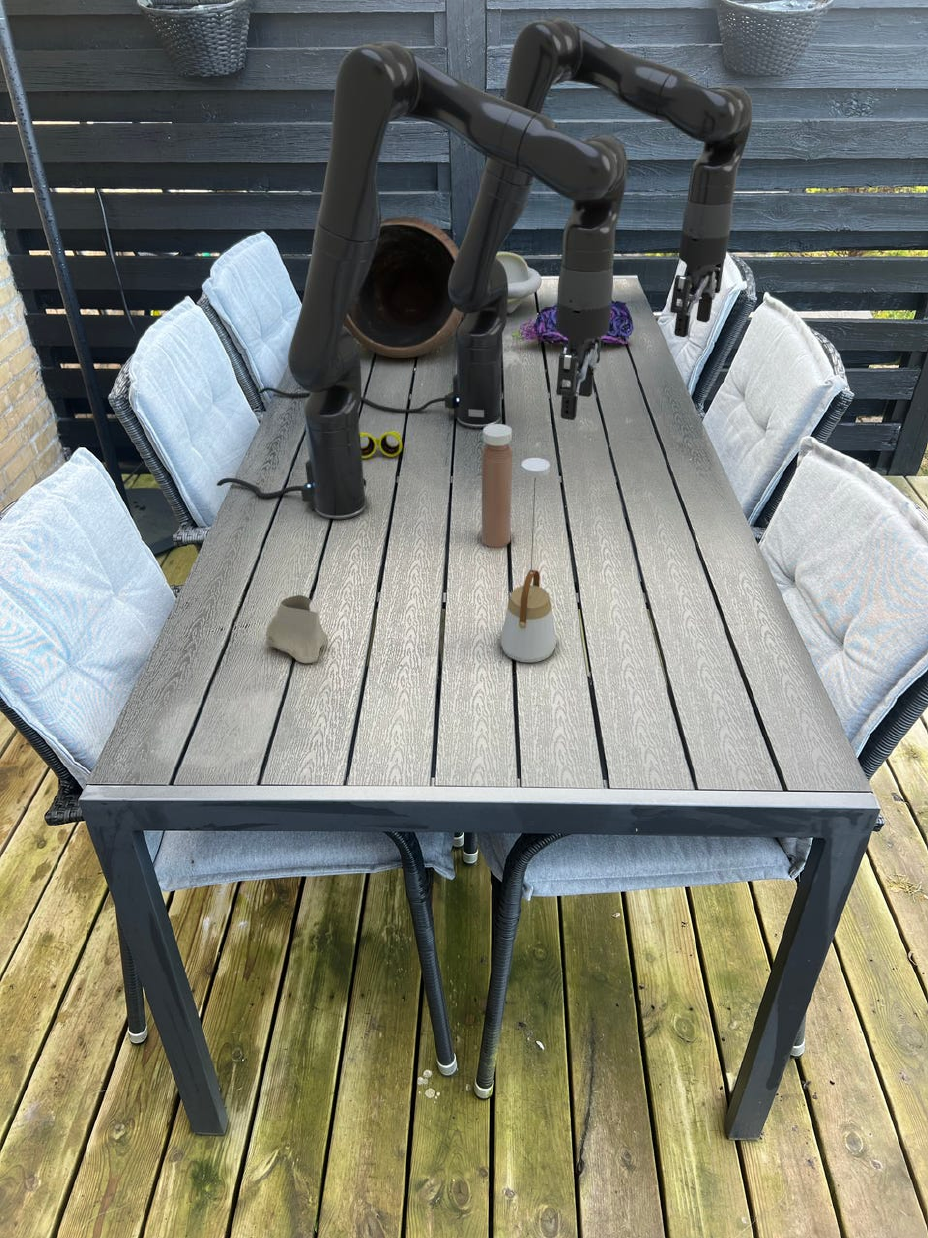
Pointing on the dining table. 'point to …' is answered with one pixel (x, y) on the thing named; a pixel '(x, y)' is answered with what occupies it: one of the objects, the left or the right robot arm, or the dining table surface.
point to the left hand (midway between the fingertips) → (576, 406)
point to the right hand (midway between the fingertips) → (691, 328)
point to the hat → (518, 279)
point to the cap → (497, 434)
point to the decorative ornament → (549, 334)
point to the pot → (406, 291)
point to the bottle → (496, 495)
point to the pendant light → (529, 603)
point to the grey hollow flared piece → (297, 629)
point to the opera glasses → (381, 445)
